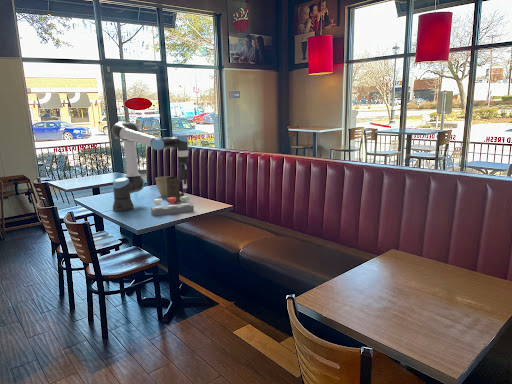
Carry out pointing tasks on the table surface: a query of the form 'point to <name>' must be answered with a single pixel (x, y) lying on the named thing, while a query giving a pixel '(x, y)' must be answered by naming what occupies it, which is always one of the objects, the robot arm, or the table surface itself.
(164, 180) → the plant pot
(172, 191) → the beer stein
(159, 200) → the white button
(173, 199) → the red button
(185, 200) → the green button
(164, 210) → the button panel
